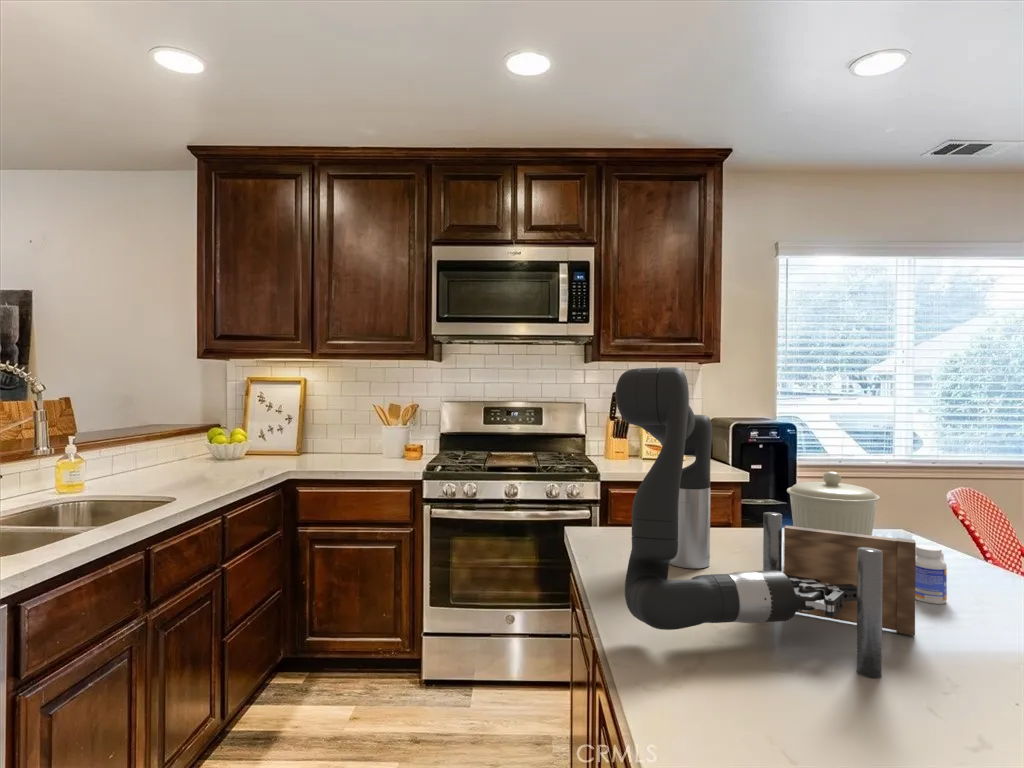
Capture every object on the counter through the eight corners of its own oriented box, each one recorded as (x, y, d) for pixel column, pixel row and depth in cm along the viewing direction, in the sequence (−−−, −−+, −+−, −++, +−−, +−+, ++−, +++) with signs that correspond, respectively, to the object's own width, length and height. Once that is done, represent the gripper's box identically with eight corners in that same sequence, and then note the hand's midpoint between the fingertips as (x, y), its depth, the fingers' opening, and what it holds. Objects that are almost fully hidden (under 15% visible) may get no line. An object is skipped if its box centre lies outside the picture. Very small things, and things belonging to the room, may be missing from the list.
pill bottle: (952, 605, 109) (953, 552, 109) (919, 603, 110) (919, 550, 110) (937, 595, 114) (938, 544, 114) (906, 593, 115) (906, 542, 115)
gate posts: (759, 606, 107) (760, 512, 107) (774, 606, 108) (775, 512, 108) (867, 679, 81) (867, 553, 81) (887, 677, 81) (887, 552, 81)
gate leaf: (783, 611, 104) (784, 527, 104) (785, 606, 106) (785, 524, 106) (914, 635, 94) (915, 542, 94) (913, 630, 96) (914, 539, 96)
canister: (898, 581, 122) (899, 478, 122) (809, 580, 123) (810, 477, 123) (850, 556, 140) (851, 466, 140) (772, 555, 141) (773, 465, 141)
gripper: (780, 586, 86) (888, 581, 88) (733, 559, 99) (828, 556, 101) (780, 638, 86) (888, 632, 88) (733, 605, 99) (828, 600, 101)
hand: (856, 592), depth 95 cm, fingers closed
